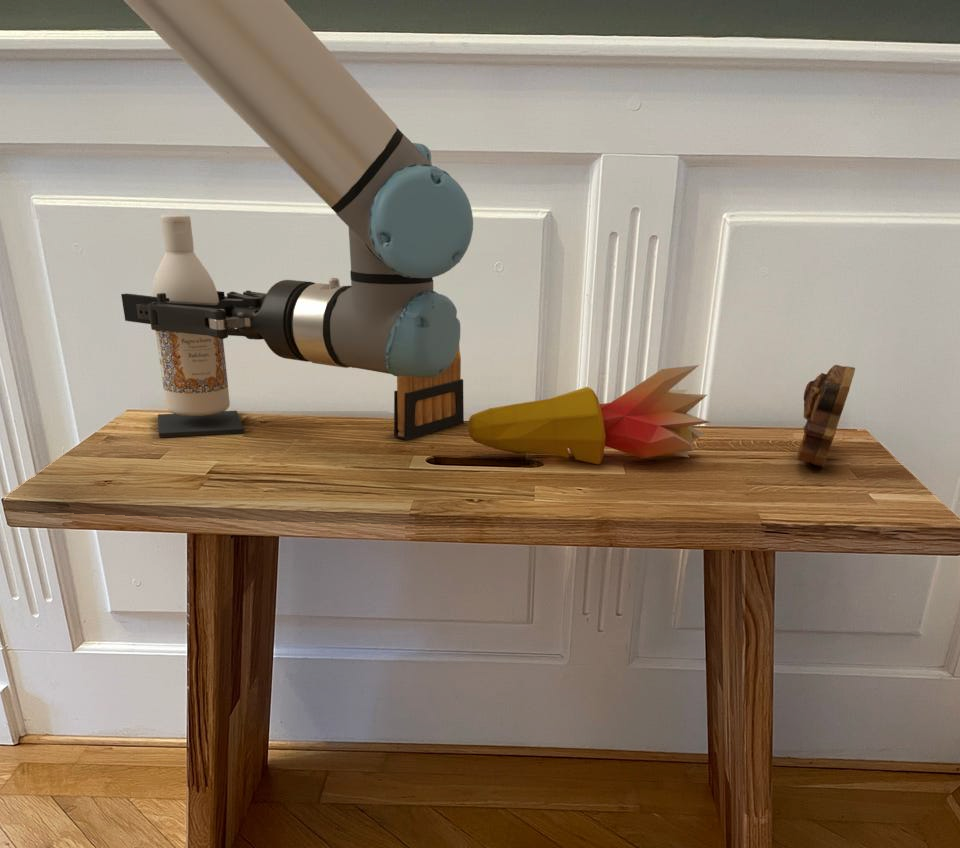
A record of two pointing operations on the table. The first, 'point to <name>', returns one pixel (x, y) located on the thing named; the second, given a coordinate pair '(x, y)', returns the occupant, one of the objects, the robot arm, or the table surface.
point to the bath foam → (188, 357)
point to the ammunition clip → (428, 402)
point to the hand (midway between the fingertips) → (155, 303)
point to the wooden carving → (823, 412)
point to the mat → (199, 424)
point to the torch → (597, 422)
